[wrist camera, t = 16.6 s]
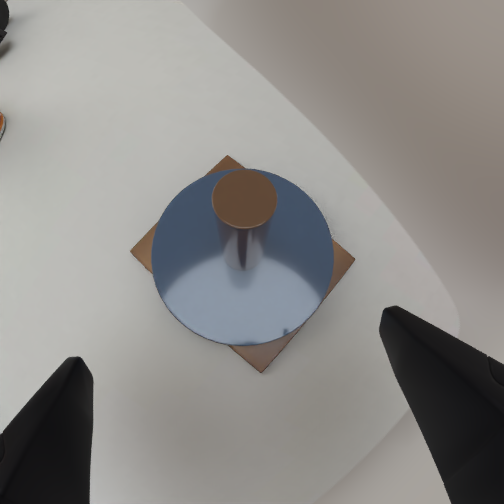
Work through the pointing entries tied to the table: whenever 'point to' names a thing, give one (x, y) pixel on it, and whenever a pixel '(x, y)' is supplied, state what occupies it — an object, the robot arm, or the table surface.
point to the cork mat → (268, 351)
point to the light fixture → (3, 18)
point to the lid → (242, 257)
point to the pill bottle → (2, 124)
